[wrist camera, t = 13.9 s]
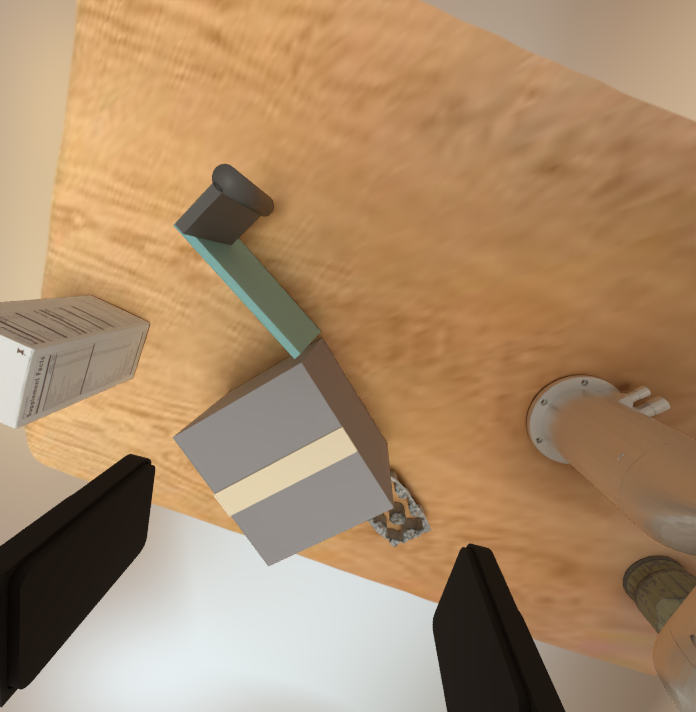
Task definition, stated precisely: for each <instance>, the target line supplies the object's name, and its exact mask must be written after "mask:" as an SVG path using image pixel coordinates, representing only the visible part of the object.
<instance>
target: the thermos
mask: <svg viewBox="0 0 696 712" xmlns="http://www.w3.org/2000/svg"><path fill="white" fill-rule="evenodd" d="M623 586H624V589H625V591H626V593H627V594H628V595H629V596H630V597H631V598H632V599H633V600H634V602H635V603H636V605H637V607H638V609H639V610H640V612H641V613H642V614H643V615H644V617H645V618H646V619H647V620H648V622H649V623H650V624H651V625H652V626H653V628H654V629H655V630H656V631H657V633H658V634H659V633H660V631H661V630H662V628H663V627H664V625H665V624H666V623H667V621H668V620H669V619H670V618H671V616H672V615H673V614H674V613H675V611H676V610H677V609H678V608H679V606H680V605H681V604H682V603H683V601H684V600H685V599H686V598H687V596H688V595H689V594H690V593H691V591H692V590H693V589H694V588H695V586H696V578H695V577H694V576H693V575H691V574H689V573H687V572H686V571H685V570H684V569H683V568H682V566H681V565H680V564H679V563H677V562H676V561H674V560H673V559H671V558H668V557H663V556H650V557H647V558H643V559H640V560H639V561H637V562H635V563H634V564H632V565H631V566H630V568H629V569H628V570H627V571H626V573H625V575H624V578H623Z"/></svg>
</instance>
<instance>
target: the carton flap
mask: <svg viewBox="0 0 696 712" xmlns="http://www.w3.org/2000/svg"><path fill="white" fill-rule="evenodd" d="M212 182H213V183H212V184H211V185H210V187H209V188H208V189H207V190H206V191H205V192H204V193H203V194H202V195H201V196H200V197H199V198H198V199H197V201H196V202H195V203H194V204H193V205H192V206H191V207H190V208H189V209H188V210H187V211H186V212H185V213H184V215H183V216H182V217H181V218H180V219H179V220H178V221H177V222H176V223H175V224H174V225H173V226H174V227H175V228H176V229H177V230H178V231H179V232H180V233H181V234H182V236H183V237H184V238H185V239H186V240H187V241H188V242H189V243H190V244H191V245H192V247H193V248H194V249H195V250H196V251H197V252H198V253H199V254H200V255H201V256H202V258H203V259H204V260H205V261H206V262H207V263H208V264H209V265H210V266H211V268H212V269H213V270H214V271H215V272H216V273H217V274H218V275H219V276H220V277H221V279H222V280H223V281H224V282H225V283H226V284H227V285H228V286H229V287H230V289H231V290H232V291H233V292H234V293H235V294H236V295H237V296H238V297H239V298H240V300H241V301H242V302H243V303H244V304H245V305H246V306H247V307H248V308H249V309H250V311H251V312H252V313H253V314H254V315H255V316H256V317H257V318H258V319H259V321H260V322H261V323H262V324H263V325H264V326H265V327H266V328H267V329H268V330H269V332H270V333H271V334H272V335H273V336H274V337H275V338H276V339H277V340H278V342H279V343H280V344H281V345H282V346H283V347H284V348H285V349H286V350H287V351H288V353H289V354H290V355H291V356H292V357H293V358H294V359H295V358H296V357H298V356H299V355H300V354H301V353H302V352H303V351H304V350H305V349H306V347H307V346H308V345H309V344H310V343H311V342H312V341H313V340H314V339H315V338H316V337H317V336H318V334H319V333H320V332H321V331H320V330H319V329H318V328H317V327H316V325H315V324H314V323H313V322H312V321H311V320H310V319H309V317H308V316H307V315H306V314H305V313H304V312H303V311H302V309H301V308H300V307H299V306H298V305H297V304H296V303H295V301H294V300H293V299H292V298H291V297H290V296H289V295H288V294H287V292H286V291H285V290H284V289H283V288H282V287H281V286H280V284H279V283H278V282H277V281H276V280H275V279H274V278H273V276H272V275H271V274H270V273H269V272H268V271H267V270H266V268H265V267H264V266H263V265H262V264H261V263H260V262H259V261H258V259H257V258H256V257H255V256H254V255H253V254H252V253H251V251H250V250H249V249H248V248H247V247H246V246H245V245H244V243H243V242H242V241H241V240H240V239H239V237H240V236H241V235H242V234H243V233H244V232H245V231H246V230H247V229H248V228H249V227H250V226H251V225H252V224H253V223H254V222H255V221H256V220H257V219H258V218H259V217H260V216H268V215H270V214H271V213H272V212H273V209H274V203H273V200H272V199H271V198H270V197H269V196H268V195H267V194H266V193H264V192H263V191H262V190H261V189H259V188H258V187H257V186H256V185H254V184H253V183H252V182H251V181H249V180H248V179H247V178H246V177H245V176H243V175H242V174H241V173H240V172H238V171H237V170H236V169H235V168H233V167H232V166H231V165H228V164H221V165H219V166H217V167H216V168H215V169H214V171H213V174H212Z"/></svg>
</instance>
